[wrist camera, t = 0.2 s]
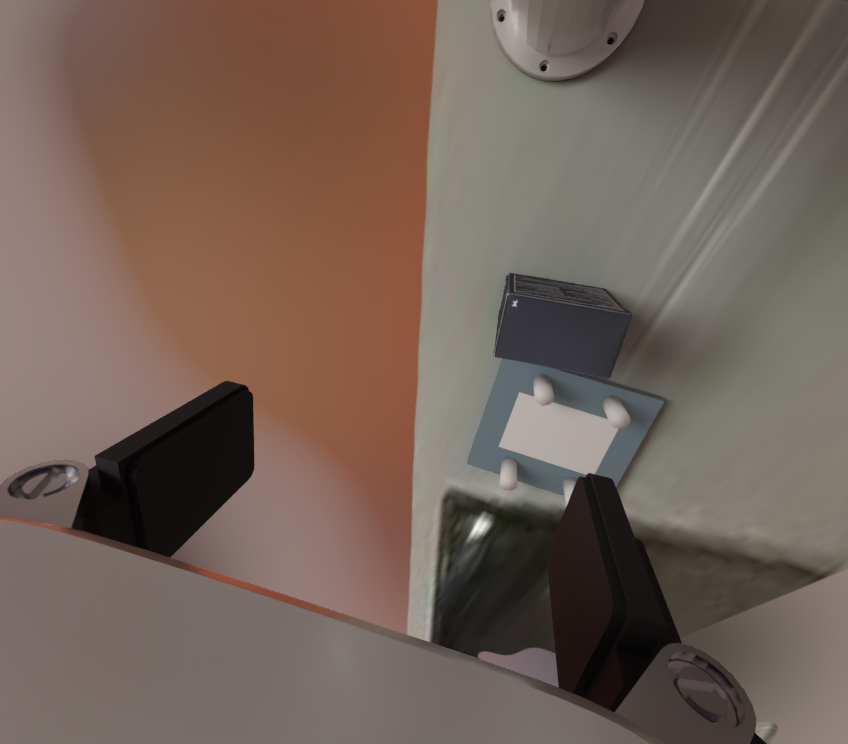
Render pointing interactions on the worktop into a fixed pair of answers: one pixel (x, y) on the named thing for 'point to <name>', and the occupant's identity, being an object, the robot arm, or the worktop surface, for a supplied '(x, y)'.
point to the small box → (560, 325)
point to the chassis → (559, 427)
